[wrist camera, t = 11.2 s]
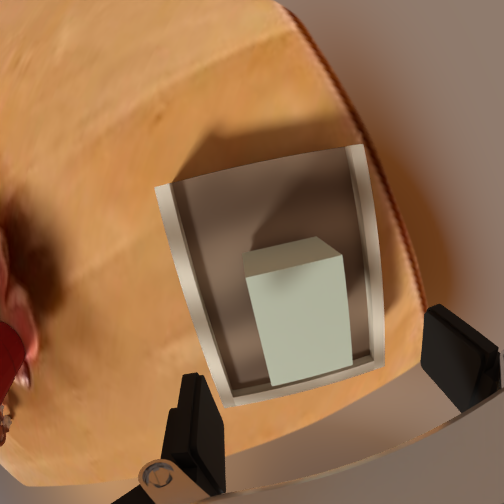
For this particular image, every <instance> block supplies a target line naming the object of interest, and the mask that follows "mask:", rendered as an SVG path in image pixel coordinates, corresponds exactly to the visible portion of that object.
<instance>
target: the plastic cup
mask: <svg viewBox="0 0 504 504" xmlns="http://www.w3.org/2000/svg"><path fill="white" fill-rule="evenodd" d="M24 357H25V351H24V346H23V344H22V341H21V339H20V337H19V336H18V335H17V333H16V332H15V330H14V329H12V328H11V327H10V326H9V325H8V324H6V323H4V322H0V406H1V404H2V402H3V400H4V398H5V396H6V394H7V392H8V390H9V388H10V386H11V385H12V383H13V381H14V379H15V376H16V374H17V372H18V370H19V369H20V367H21V365H22V363H23V360H24Z"/></svg>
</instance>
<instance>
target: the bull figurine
mask: <svg viewBox="0 0 504 504" xmlns="http://www.w3.org/2000/svg"><path fill="white" fill-rule="evenodd" d="M3 409H4V405H2V404H1V406H0V446H2V445H3V444H4V443H5V440H6V432H9V427H10V425H11V423H12V421H11V418H10V416H8V415H5V416H3ZM1 423H2V424H3V425H1ZM3 434H4V437H3Z"/></svg>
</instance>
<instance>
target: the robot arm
mask: <svg viewBox="0 0 504 504" xmlns="http://www.w3.org/2000/svg"><path fill="white" fill-rule="evenodd" d="M421 366H422V368H423V370H424V371H425V372H426V373H427V374H428V375H429V376H430V377H431V379H432V380H433V381H434V382H435V383H436V384H437V385H438V387H439V388H440V389H441V390H442V391H443V392H444V393H445V395H446V396H447V397H448V398H449V399H450V400H451V401H452V402H453V404H454V405H455V406H456V407H457V408H458V409H459V411H460V412H461V414H460V415H458V416H456V417H454V418H453V419H451V420H449V421H447V422H445V423H443V424H442V425H440V426H438V427H436V428H434V429H432V430H430V431H428V432H426V433H424V434H422V435H420V436H418V437H416V438H413V439H411V440H409V441H407V442H405V443H402V444H400V445H398V446H396V447H393V448H391V449H389V450H386V451H384V452H381V453H378V454H376V455H373V456H371V457H368V458H365V459H363V460H360V461H357V462H354V463H351V464H348V465H345V466H342V467H339V468H336V469H332V470H329V471H326V472H322V473H319V474H315V475H311V476H307V477H304V478H299V479H295V480H291V481H287V482H282V483H278V484H273V485H269V486H263V487H258V488H252V489H246V490H242V491H236V492H231V493H225V492H226V480H225V447H224V424H223V420H222V418H221V415H220V413H219V411H218V409H217V406H216V404H215V401H214V399H213V397H212V394H211V392H210V390H209V387H208V385H207V382H206V380H205V377H204V376H203V375H200V376H199V374H198V373H197V372H196V373H190V374H184V375H183V377H182V382H181V388H180V394H179V400H178V406H177V408H171V409H170V411H169V414H168V420H167V425H166V431H165V436H164V442H163V448H162V454H161V459H157V460H153V461H151V462H149V463H147V464H146V465H144V466H143V467H142V469H141V470H140V472H139V475H138V480H139V483H140V484H139V485H138V486H137V487H135V488H134V489H132V490H131V491H129V492H128V493H126V494H125V495H124V496H122V497H120V498H119V499H117V500H116V501H114V502H113V503H111V504H504V350H502V352H501V353H499V352H498V347H497V346H496V345H495V344H494V343H492V342H491V341H490V340H488V339H487V338H486V337H484V336H483V335H482V334H481V333H479V332H478V331H476V330H475V329H474V328H472V327H471V326H470V325H469V324H467V323H466V322H465V321H463V320H462V319H460V318H459V317H458V316H456V315H455V314H454V313H452V312H451V311H449V310H448V309H447V308H445V307H444V306H442V305H441V304H437V305H434V306H432V307H429V308H428V309H427V312H426V313H425V314H424V328H423V341H422V352H421ZM223 493H225V494H223Z"/></svg>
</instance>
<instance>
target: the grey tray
mask: <svg viewBox="0 0 504 504" xmlns="http://www.w3.org/2000/svg"><path fill="white" fill-rule="evenodd" d="M155 193H156V197H157V201H158V205H159V209H160V212H161V216H162V220H163V224H164V228H165V231H166V235H167V239H168V242H169V246H170V250H171V253H172V257H173V260H174V263H175V267H176V270H177V274H178V277H179V280H180V284H181V287H182V290H183V293H184V296H185V300H186V303H187V306H188V309H189V312H190V315H191V318H192V321H193V324H194V327H195V330H196V333H197V336H198V339H199V342H200V345H201V347H202V350H203V353H204V356H205V359H206V361H207V364H208V367H209V370H210V372H211V375H212V378H213V380H214V383H215V386H216V388H217V391H218V393H219V396H220V399H221V401H222V404H223V406H224V408H228V407H234V406H239V405H245V404H250V403H255V402H260V401H265V400H269V399H274V398H278V397H283V396H287V395H291V394H295V393H299V392H303V391H307V390H311V389H314V388H318V387H322V386H325V385H329V384H332V383H335V382H339V381H342V380H345V379H348V378H352V377H355V376H358V375H361V374H364V373H367V372H370V371H372V370H375V369H378V368H381V367H384V366H385V326H384V300H383V283H382V270H381V258H380V248H379V239H378V230H377V222H376V215H375V208H374V201H373V195H372V188H371V182H370V177H369V171H368V166H367V160H366V155H365V150H364V145H363V144H357V145H350V146H346V147H340V148H333V149H327V150H321V151H315V152H309V153H303V154H298V155H292V156H287V157H282V158H277V159H272V160H267V161H262V162H257V163H252V164H248V165H243V166H239V167H234V168H230V169H226V170H221V171H217V172H213V173H209V174H205V175H201V176H197V177H193V178H189V179H186V180H182V181H178V182H174V183H169V184H165V185H162V186H158V187H155ZM315 236H317V237H318V238H320V239H321V240H322V241H324V242H325V243H326V244H328V245H329V246H331V247H332V248H333V249H335V250H336V251H338V252H339V253H340V254H342V257H343V264H344V272H345V281H346V289H347V299H348V309H349V320H350V332H351V345H352V361H353V365H351V366H347V367H344V368H341V369H337V370H334V371H331V372H327V373H324V374H320V375H316V376H313V377H309V378H305V379H301V380H297V381H293V382H289V383H285V384H280V385H276V386H272V385H271V381H270V377H269V373H268V369H267V364H266V360H265V356H264V352H263V348H262V344H261V340H260V336H259V332H258V328H257V324H256V320H255V315H254V311H253V307H252V303H251V299H250V295H249V290H248V286H247V282H246V278H245V271H244V263H243V256H242V253H245V252H249V251H253V250H256V249H263V248H267V247H271V246H276V245H280V244H285V243H289V242H293V241H298V240H301V239H307V238H311V237H315Z"/></svg>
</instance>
